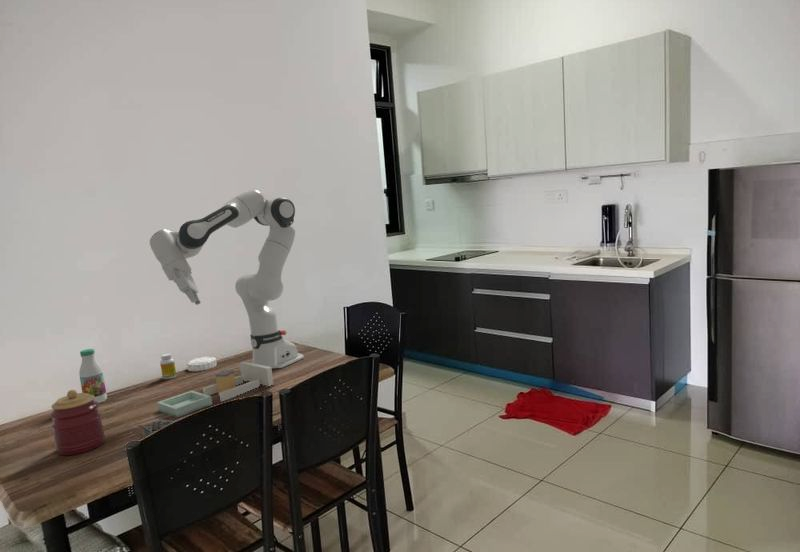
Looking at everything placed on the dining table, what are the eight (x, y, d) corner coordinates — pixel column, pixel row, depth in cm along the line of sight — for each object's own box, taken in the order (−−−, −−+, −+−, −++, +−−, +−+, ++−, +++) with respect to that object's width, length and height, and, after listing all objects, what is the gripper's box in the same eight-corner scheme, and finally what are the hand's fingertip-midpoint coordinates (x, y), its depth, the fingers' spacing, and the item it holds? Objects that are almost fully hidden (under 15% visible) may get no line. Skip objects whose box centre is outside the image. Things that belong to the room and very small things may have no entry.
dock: (246, 378, 223) (243, 361, 222) (273, 385, 212) (271, 367, 211) (199, 394, 209) (197, 376, 208) (226, 402, 197) (223, 383, 196)
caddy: (225, 391, 210) (222, 370, 209) (236, 391, 209) (233, 370, 208) (218, 395, 206) (215, 374, 205) (229, 395, 204) (226, 374, 203)
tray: (193, 398, 205) (191, 390, 205) (212, 404, 196) (211, 396, 196) (158, 410, 195) (157, 402, 195) (176, 417, 187) (175, 409, 186)
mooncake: (183, 373, 242) (182, 364, 241) (194, 364, 253) (193, 356, 253) (211, 370, 241) (209, 362, 241) (220, 362, 253) (219, 354, 252)
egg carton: (139, 438, 173) (136, 425, 173) (158, 428, 180) (156, 416, 179) (164, 441, 169) (161, 428, 168) (183, 430, 175) (181, 418, 175)
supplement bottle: (171, 379, 233) (167, 356, 232) (159, 379, 234) (156, 356, 233) (179, 374, 238) (175, 352, 237) (167, 375, 239) (164, 353, 238)
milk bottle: (81, 403, 213) (72, 351, 210) (103, 396, 218) (94, 346, 215) (88, 406, 207) (79, 354, 205) (110, 400, 213) (101, 348, 210)
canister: (53, 460, 162) (42, 401, 159) (60, 444, 174) (49, 389, 171) (103, 448, 167) (93, 391, 164) (107, 433, 179) (97, 380, 176)
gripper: (180, 262, 201) (199, 296, 201) (190, 270, 221) (208, 301, 220) (163, 271, 199) (183, 305, 199) (175, 278, 219) (193, 309, 219)
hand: (196, 303), depth 210 cm, fingers open, 8 cm apart
